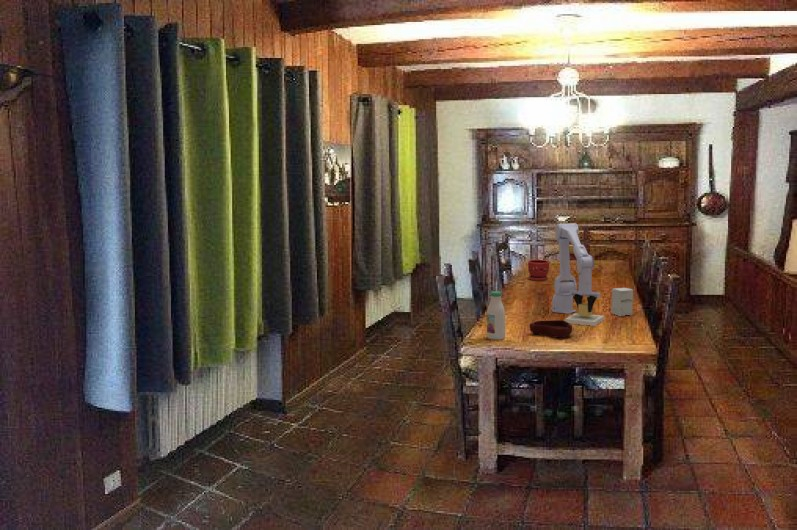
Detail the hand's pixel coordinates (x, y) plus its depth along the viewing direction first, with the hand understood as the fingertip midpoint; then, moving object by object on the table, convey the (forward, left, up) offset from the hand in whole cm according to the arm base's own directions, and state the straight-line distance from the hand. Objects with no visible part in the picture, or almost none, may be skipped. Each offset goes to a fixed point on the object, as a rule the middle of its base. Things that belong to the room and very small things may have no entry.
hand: (584, 311), depth 333 cm
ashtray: (+1, -29, -5) cm, 30 cm away
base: (0, 0, -5) cm, 5 cm away
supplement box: (+7, +24, -5) cm, 26 cm away
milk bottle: (-15, -50, -5) cm, 52 cm away
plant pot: (-80, +91, -5) cm, 121 cm away
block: (0, 0, -2) cm, 2 cm away
